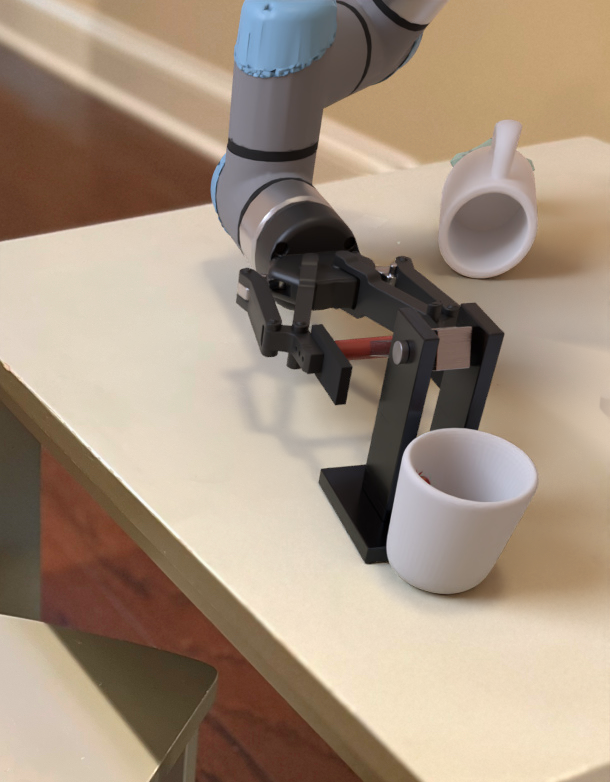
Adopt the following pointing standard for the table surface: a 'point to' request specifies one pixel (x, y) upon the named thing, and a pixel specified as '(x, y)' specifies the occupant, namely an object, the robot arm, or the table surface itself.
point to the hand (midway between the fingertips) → (399, 381)
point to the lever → (449, 354)
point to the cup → (456, 507)
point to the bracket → (410, 420)
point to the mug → (489, 207)
